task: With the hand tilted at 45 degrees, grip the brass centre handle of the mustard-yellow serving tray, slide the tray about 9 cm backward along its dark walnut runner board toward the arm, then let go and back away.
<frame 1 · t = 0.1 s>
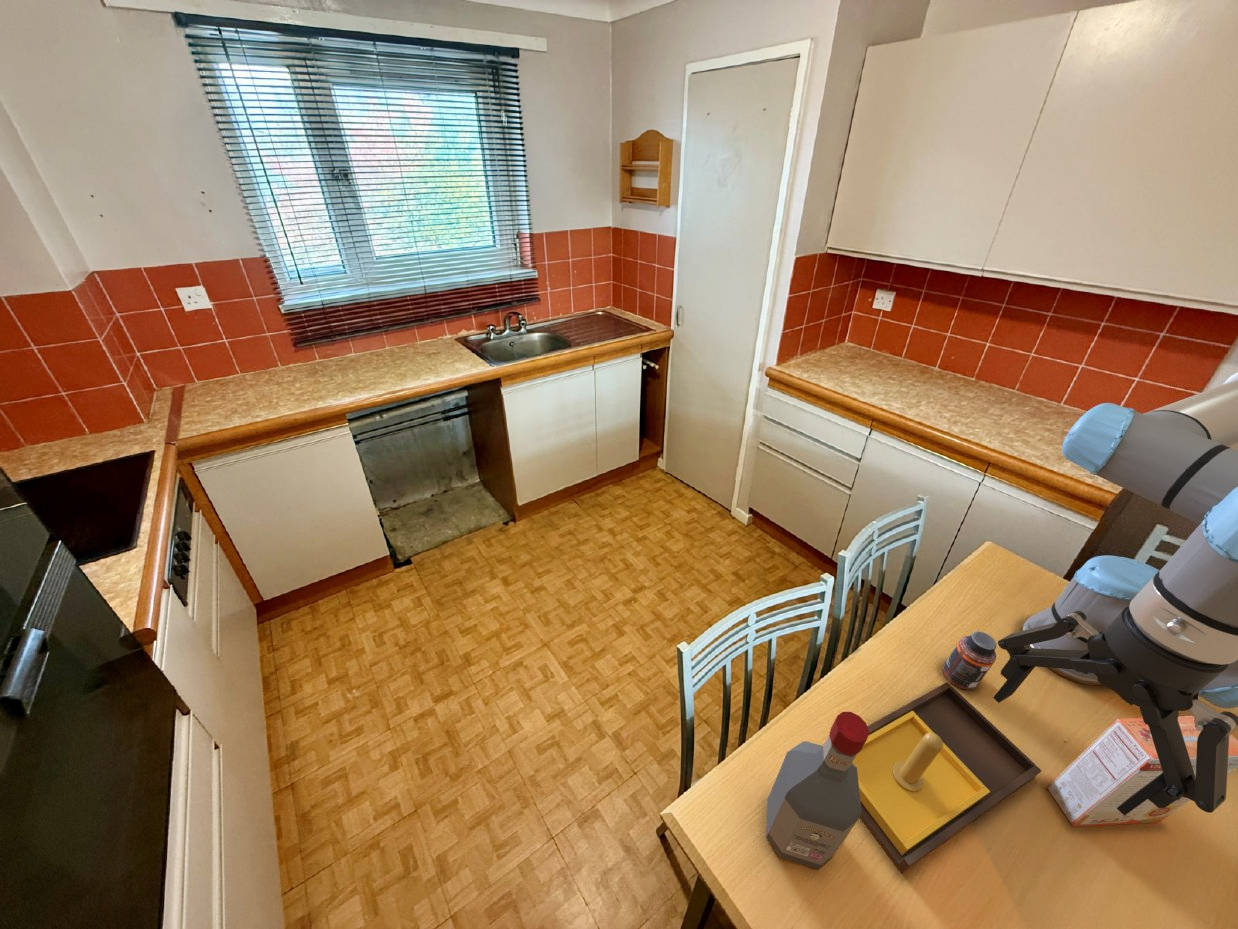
hand: (1059, 746, 59), 28 cm above the table, tool pointing down, fingers open, 13 cm apart
cracker box: (1098, 804, 79), on the table
tray: (919, 759, 77), point 8 cm above the table, slide at 0.0 cm
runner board: (923, 770, 83), on the table
liquor: (796, 831, 76), on the table
supplement bottle: (958, 677, 97), on the table
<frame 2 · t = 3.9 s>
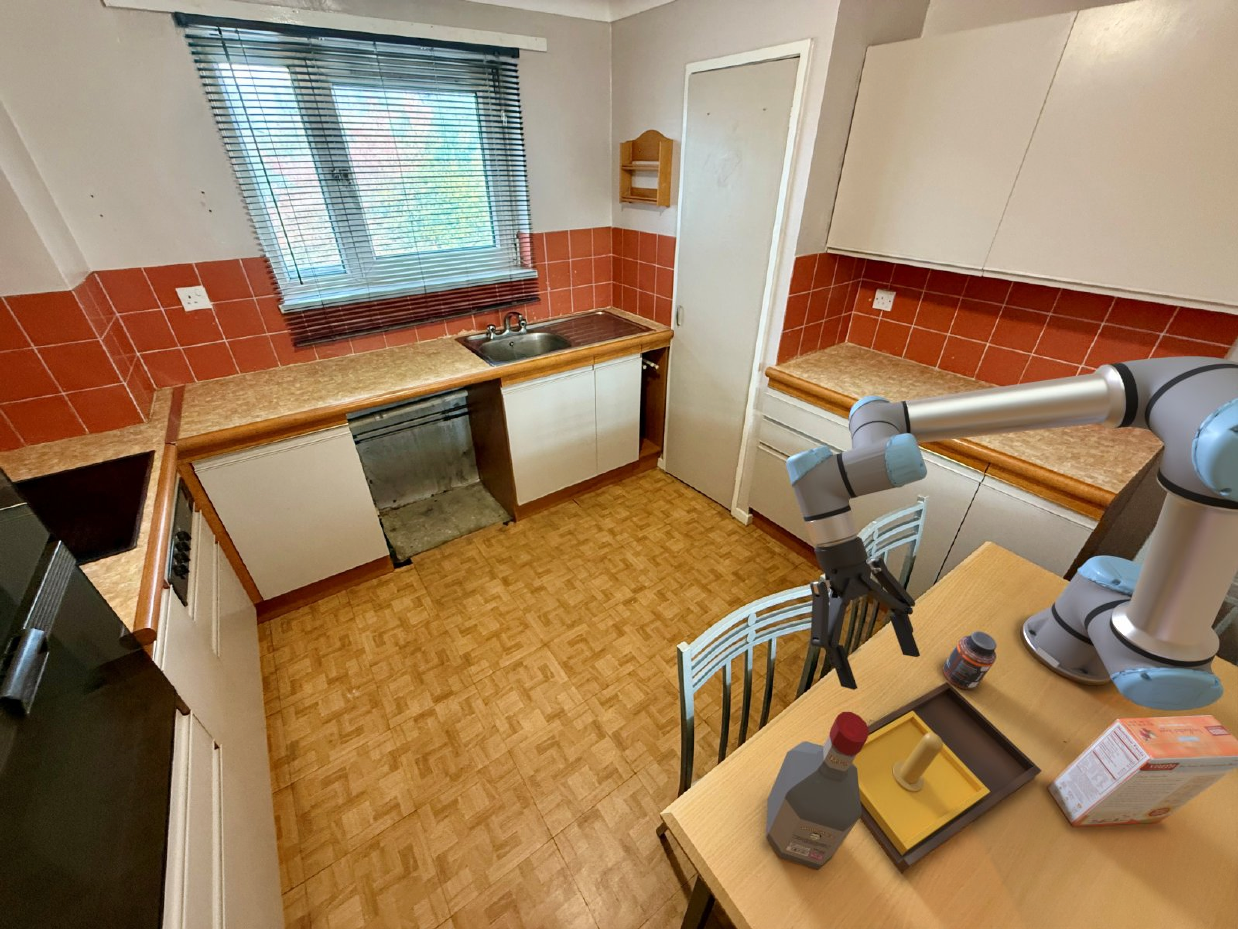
hand: (881, 671, 80), 16 cm above the table, tool tilted 45°, fingers open, 13 cm apart
nothing on the table moved.
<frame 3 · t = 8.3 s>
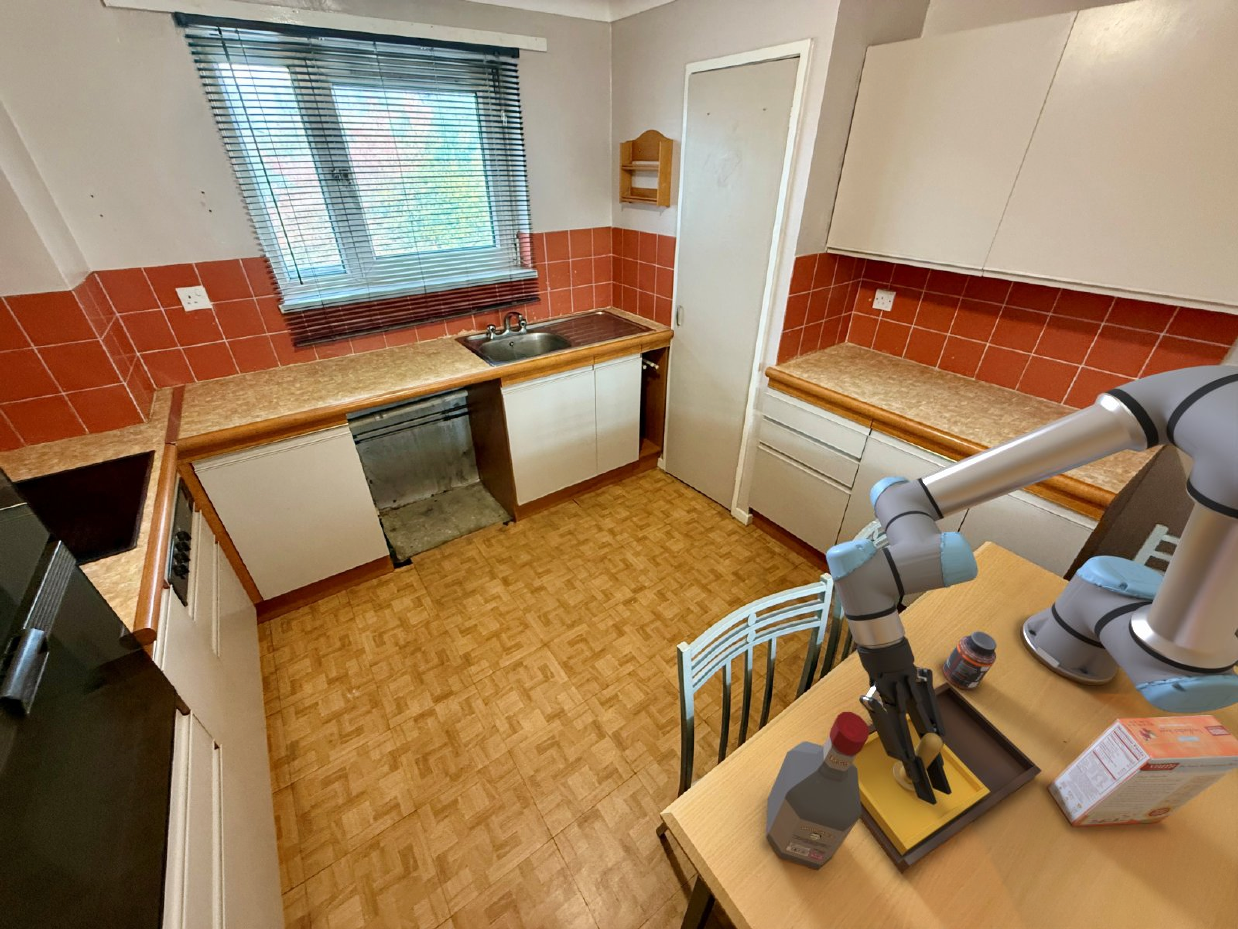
hand: (934, 795, 76), 5 cm above the table, tool tilted 45°, fingers closed on tray, 2 cm apart
tray: (919, 759, 77), point 8 cm above the table, slide at 0.0 cm, touching gripper
everything else where it was.
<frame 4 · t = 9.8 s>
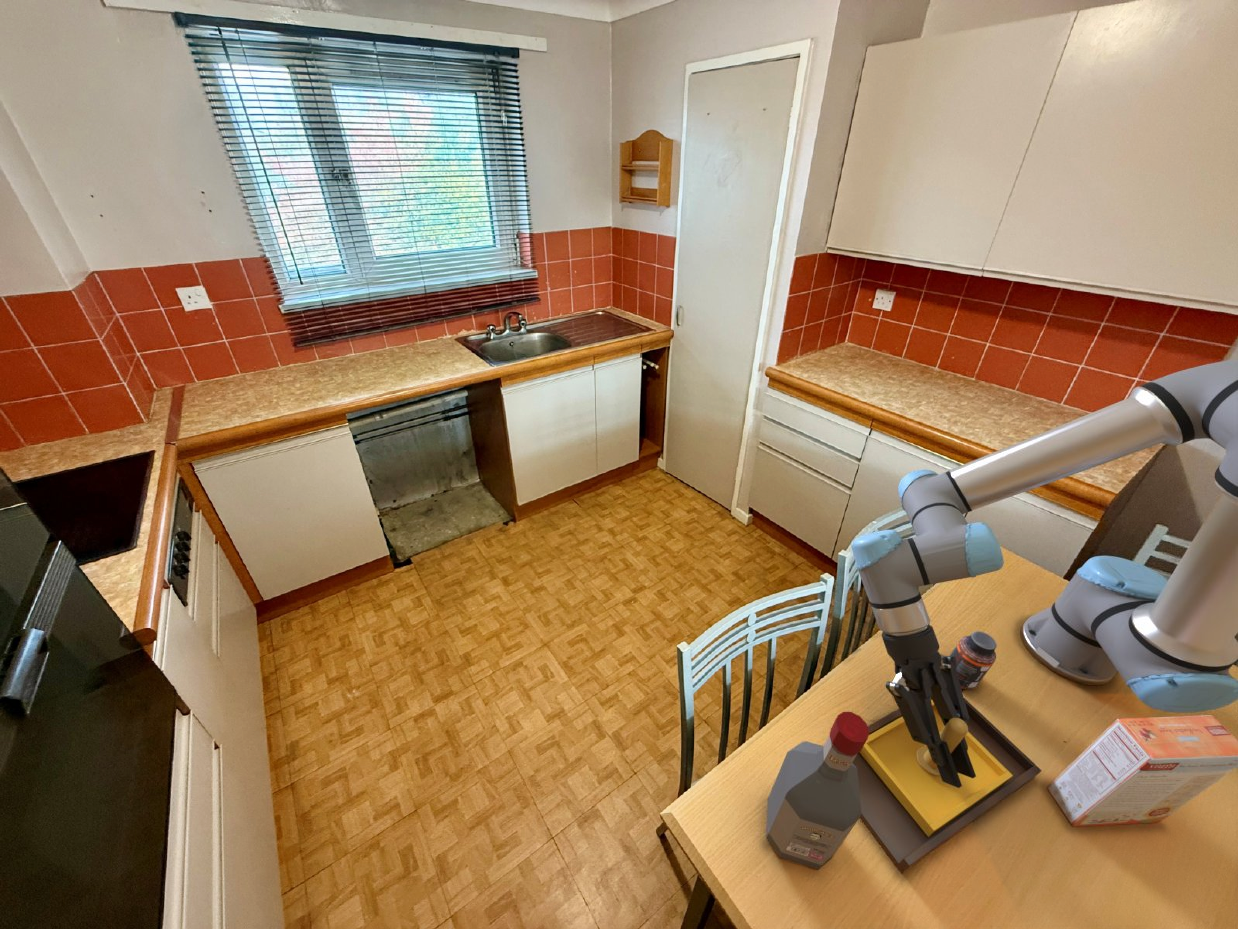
hand: (959, 778, 78), 5 cm above the table, tool tilted 45°, fingers closed on tray, 2 cm apart
tray: (944, 744, 79), point 8 cm above the table, slide at 5.5 cm, touching gripper
everything else where it was.
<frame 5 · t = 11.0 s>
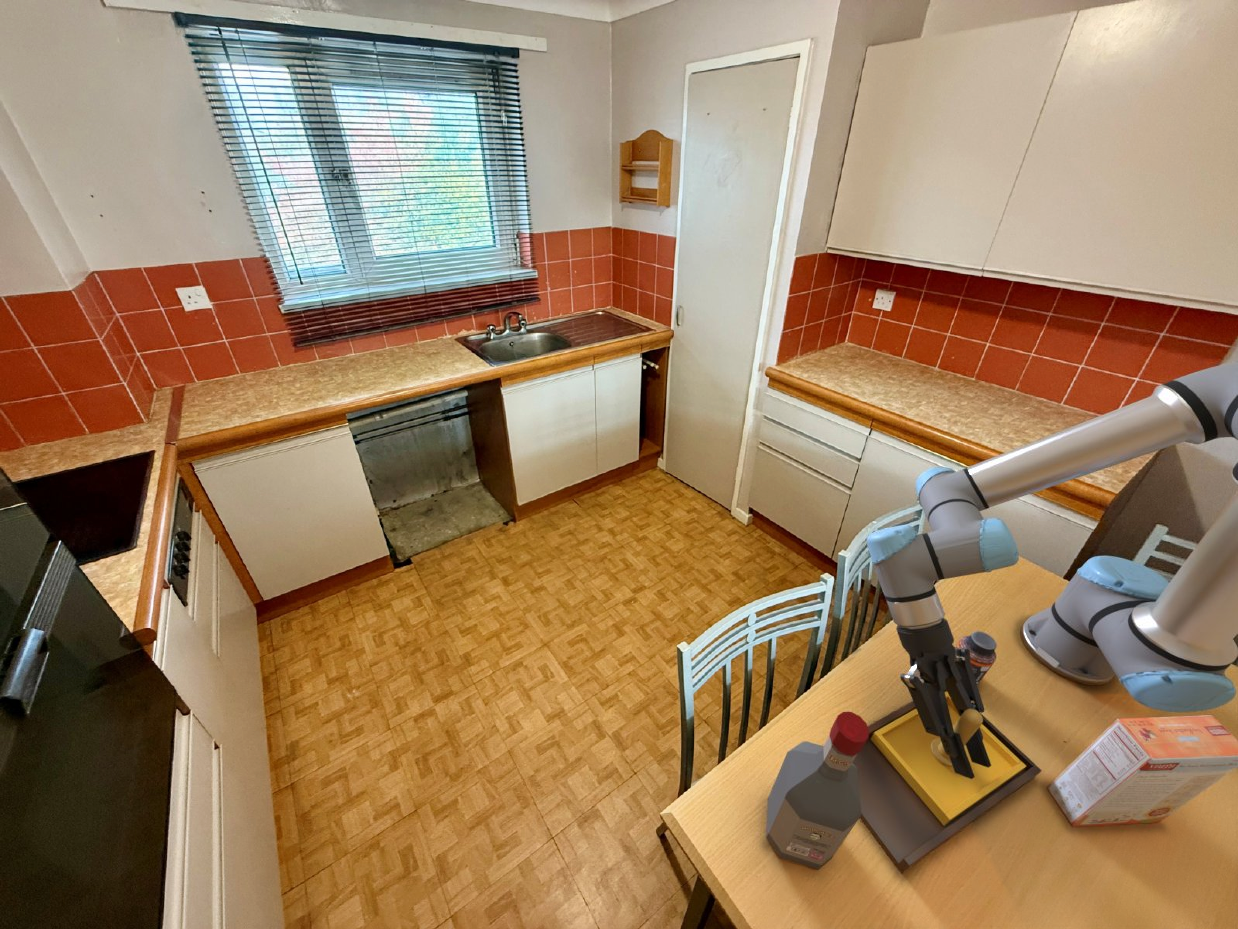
hand: (973, 769, 79), 5 cm above the table, tool tilted 45°, fingers open, 3 cm apart
tray: (958, 735, 80), point 8 cm above the table, slide at 8.9 cm
everything else where it was.
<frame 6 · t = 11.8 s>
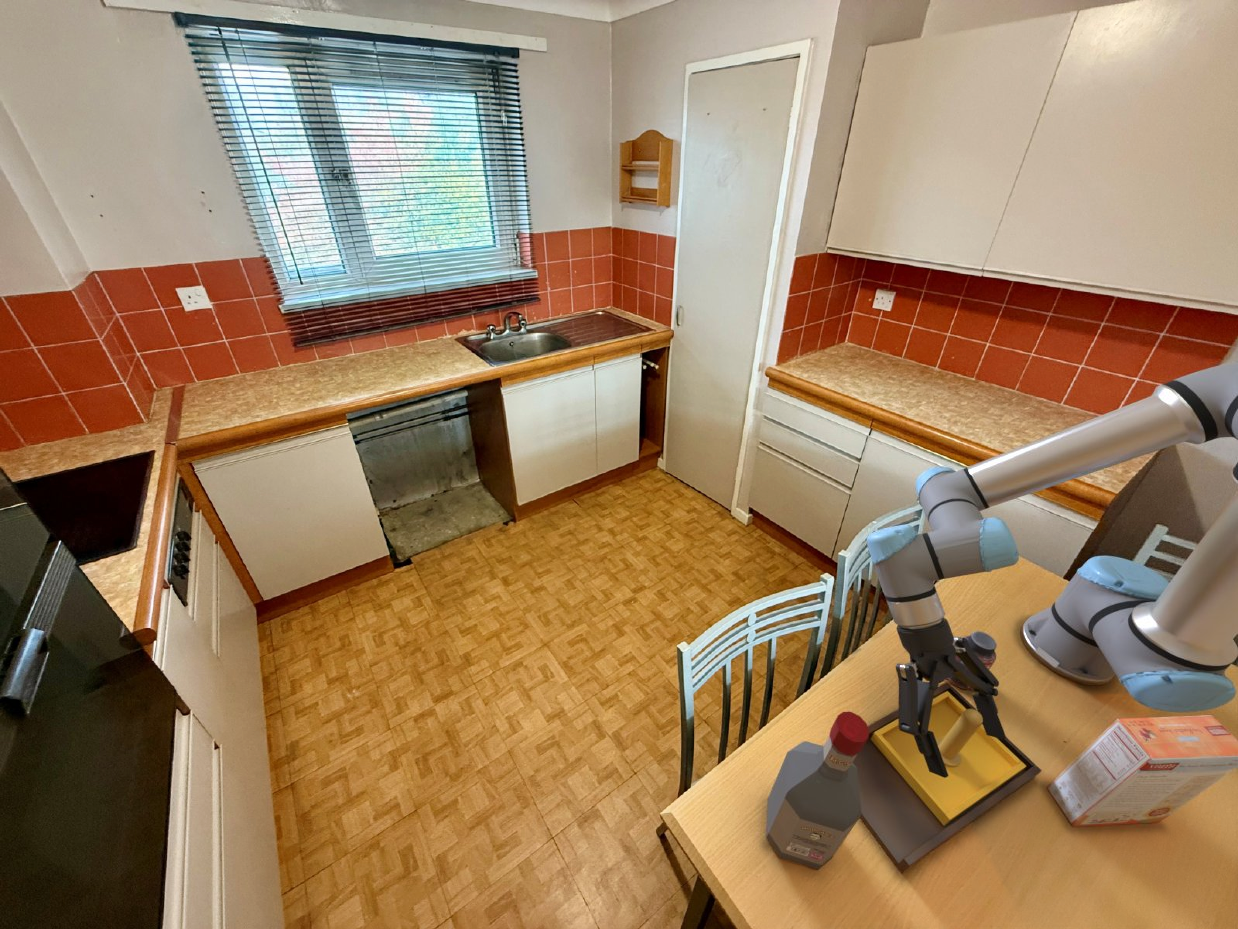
hand: (968, 754, 79), 6 cm above the table, tool tilted 45°, fingers open, 13 cm apart
nothing on the table moved.
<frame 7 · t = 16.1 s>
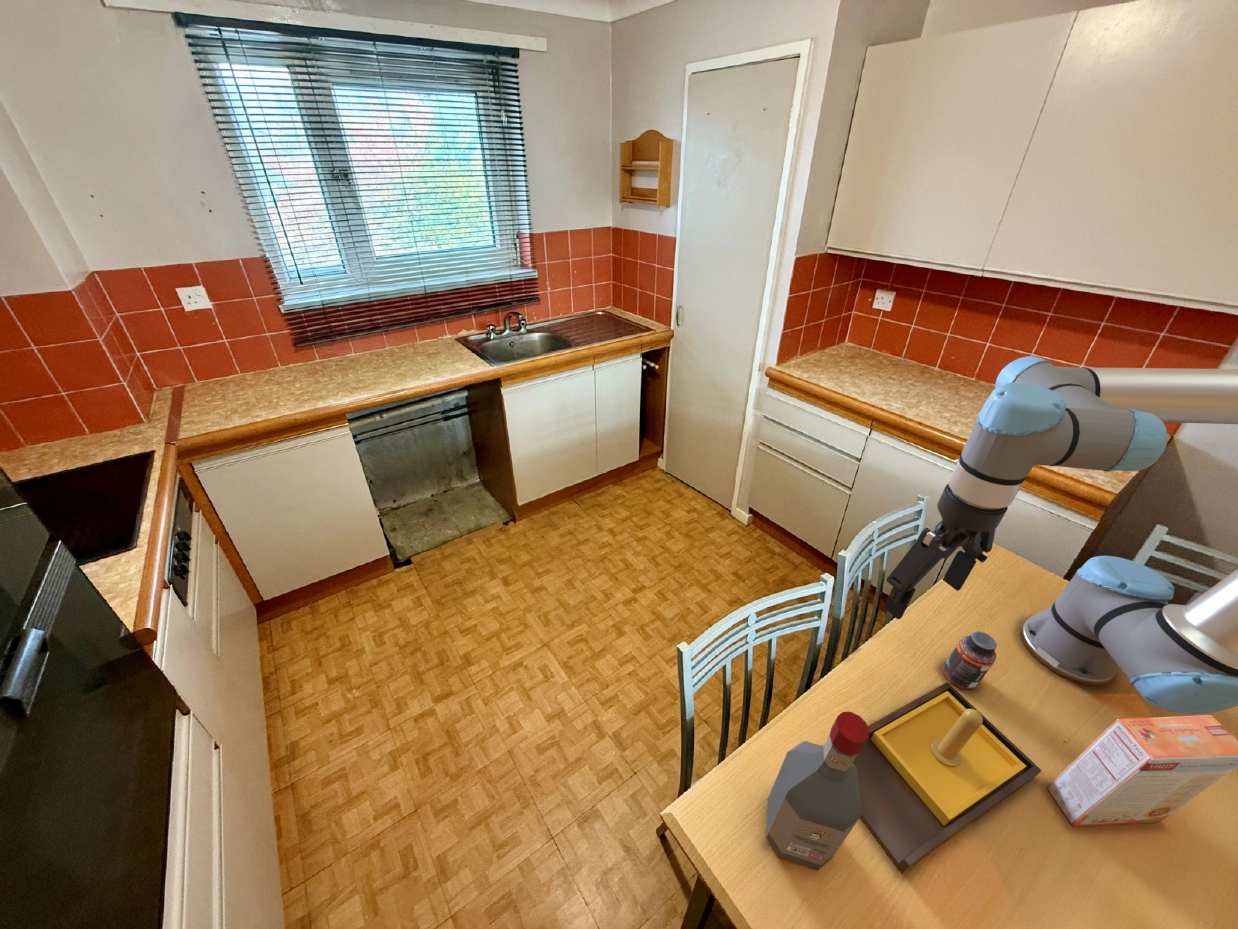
hand: (922, 598, 81), 25 cm above the table, tool pointing down, fingers open, 13 cm apart
nothing on the table moved.
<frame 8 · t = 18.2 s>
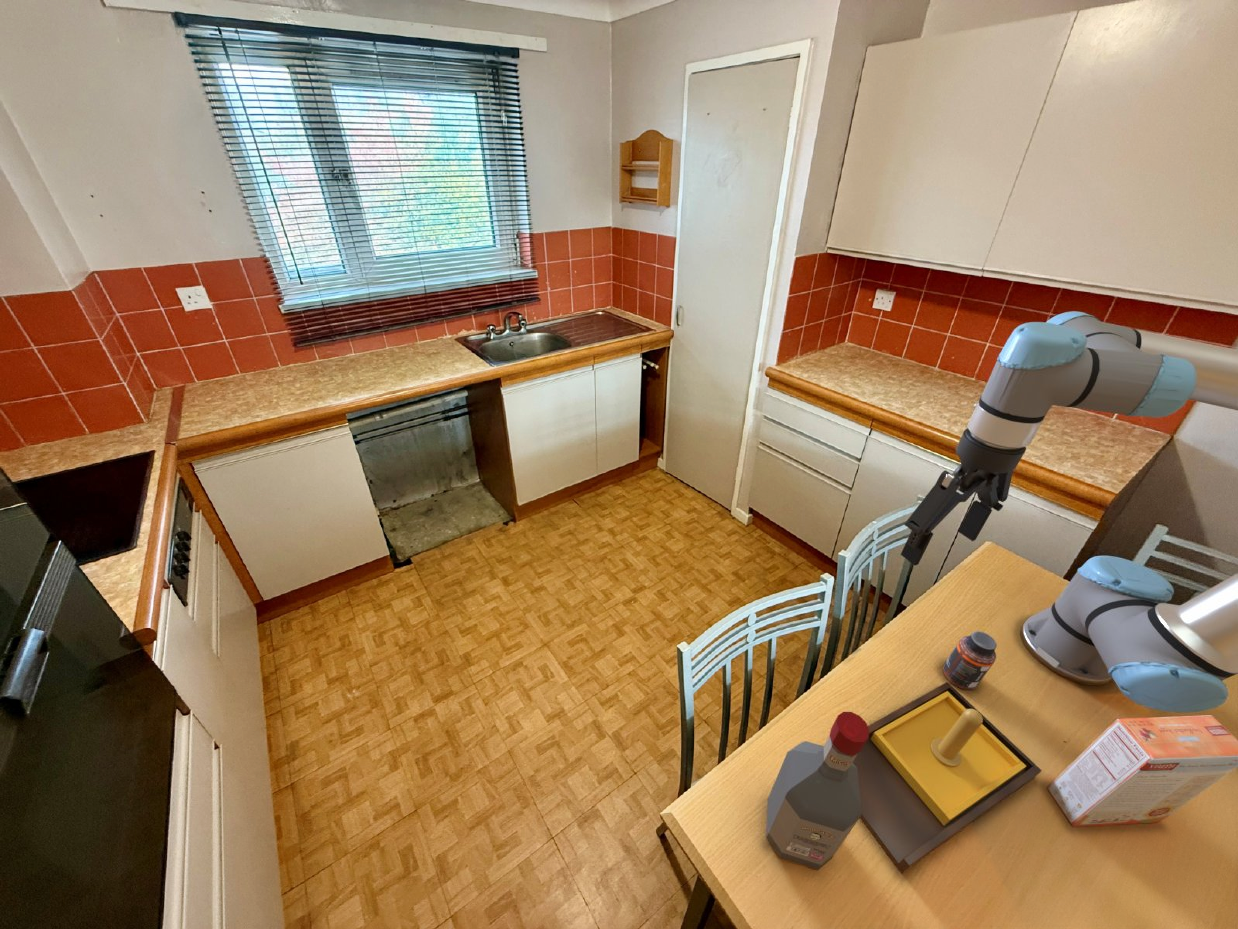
hand: (938, 547, 82), 31 cm above the table, tool pointing down, fingers open, 13 cm apart
nothing on the table moved.
at the end: tray slide at 8.9 cm; the gripper is holding nothing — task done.
